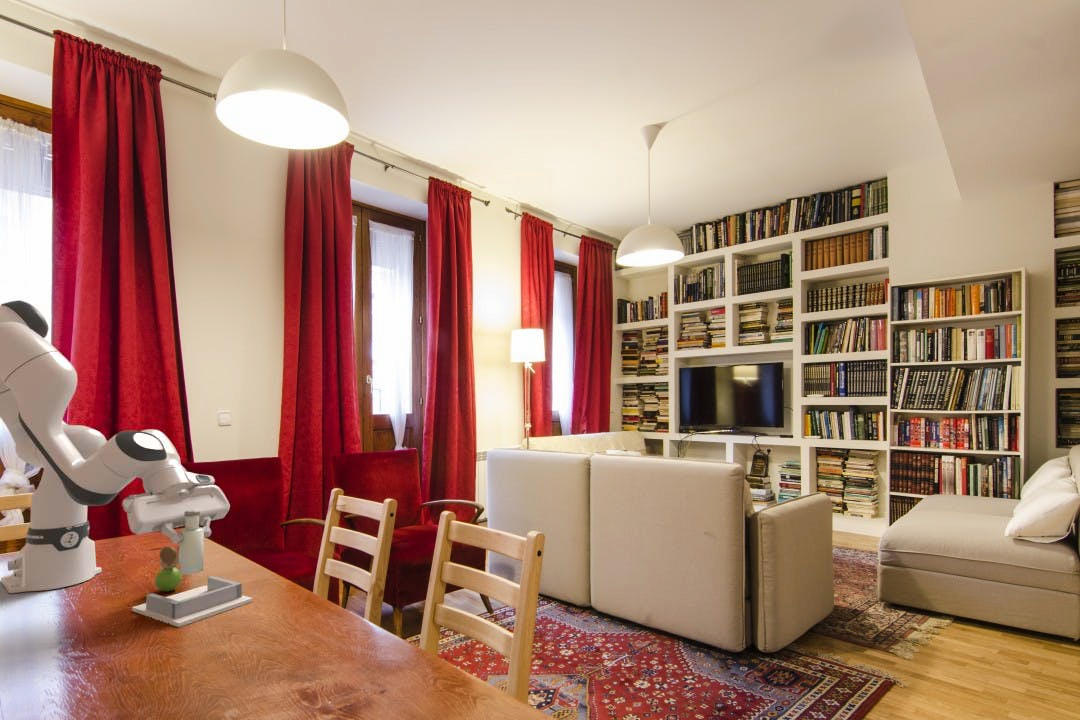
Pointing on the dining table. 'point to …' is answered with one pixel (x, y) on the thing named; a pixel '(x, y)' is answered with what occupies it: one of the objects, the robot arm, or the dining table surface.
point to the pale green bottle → (191, 545)
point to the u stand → (194, 602)
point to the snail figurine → (168, 570)
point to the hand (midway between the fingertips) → (193, 538)
